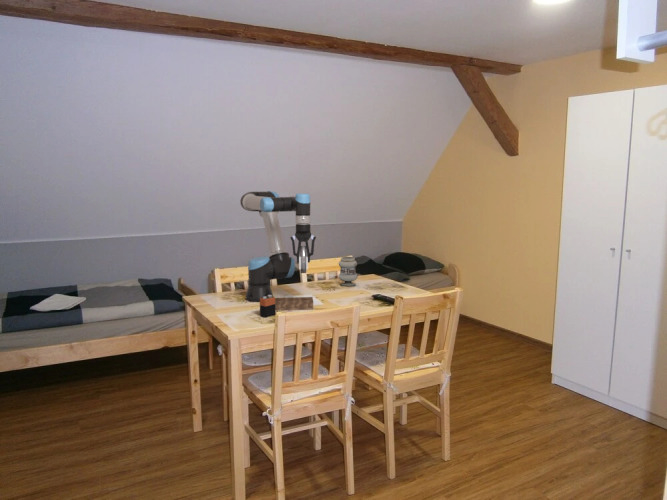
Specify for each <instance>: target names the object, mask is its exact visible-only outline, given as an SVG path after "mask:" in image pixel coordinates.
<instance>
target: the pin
mask: <svg viewBox="0 0 667 500" xmlns="http://www.w3.org/2000/svg"><path fill="white" fill-rule="evenodd" d="M299 256H300V257H301V269H300V273H301V274H307V269H306V256H307V249H306V245H301V247H300V254H299Z"/></svg>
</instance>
